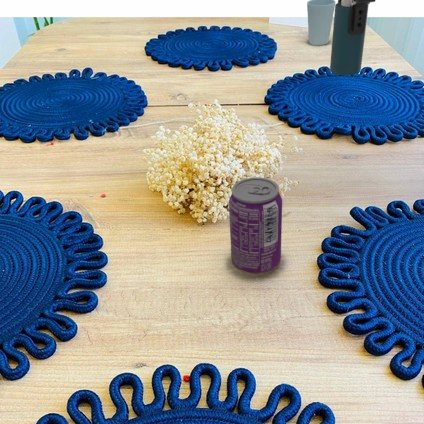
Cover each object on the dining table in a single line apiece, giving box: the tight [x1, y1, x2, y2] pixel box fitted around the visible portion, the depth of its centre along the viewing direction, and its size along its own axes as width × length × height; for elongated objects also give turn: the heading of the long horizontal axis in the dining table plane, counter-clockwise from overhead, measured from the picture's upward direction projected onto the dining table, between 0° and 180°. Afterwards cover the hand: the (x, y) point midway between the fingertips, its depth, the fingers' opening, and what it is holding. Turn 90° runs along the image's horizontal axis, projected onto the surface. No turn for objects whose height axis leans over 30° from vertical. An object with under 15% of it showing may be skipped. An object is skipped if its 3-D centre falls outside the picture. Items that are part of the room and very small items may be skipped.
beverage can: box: [228, 177, 283, 274], centre depth 73 cm, size 7×7×12 cm
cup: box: [306, 0, 337, 46], centre depth 149 cm, size 8×8×10 cm
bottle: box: [329, 0, 370, 76], centre depth 78 cm, size 5×5×10 cm
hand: (349, 28), depth 77 cm, fingers closed on bottle, 4 cm apart
